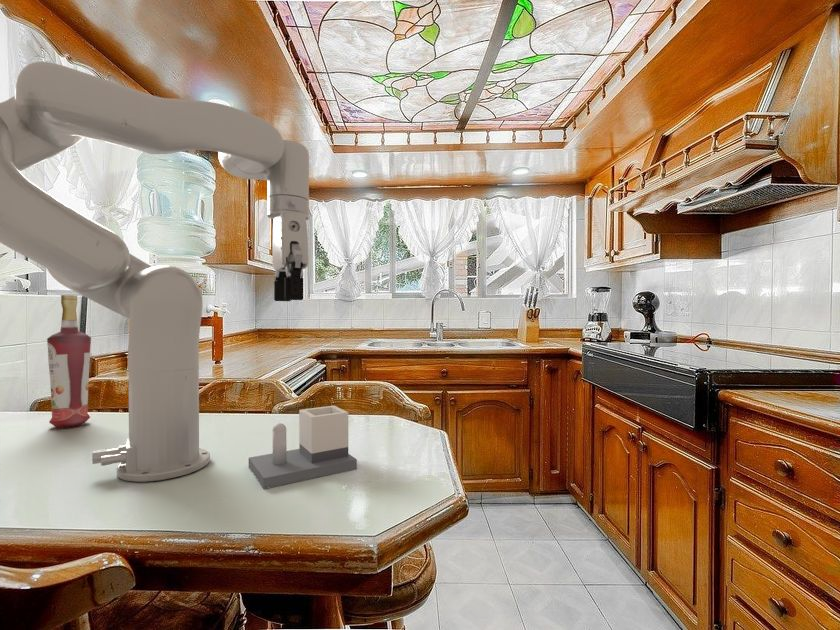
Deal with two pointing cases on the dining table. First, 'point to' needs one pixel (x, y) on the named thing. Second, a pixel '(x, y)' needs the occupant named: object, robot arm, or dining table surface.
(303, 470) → the pin board
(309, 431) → the sleeve
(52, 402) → the liquor
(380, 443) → the dining table surface
